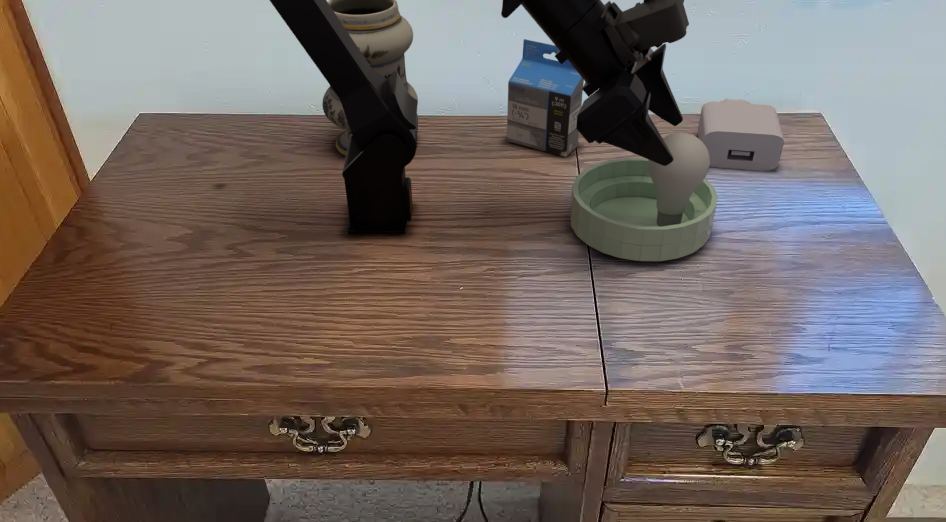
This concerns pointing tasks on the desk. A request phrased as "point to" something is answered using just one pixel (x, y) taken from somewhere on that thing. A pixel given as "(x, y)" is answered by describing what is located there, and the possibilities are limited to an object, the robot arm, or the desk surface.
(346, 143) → the apothecary jar
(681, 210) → the lightbulb
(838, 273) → the desk surface
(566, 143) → the blue grey carton
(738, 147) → the charger
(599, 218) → the bowl
